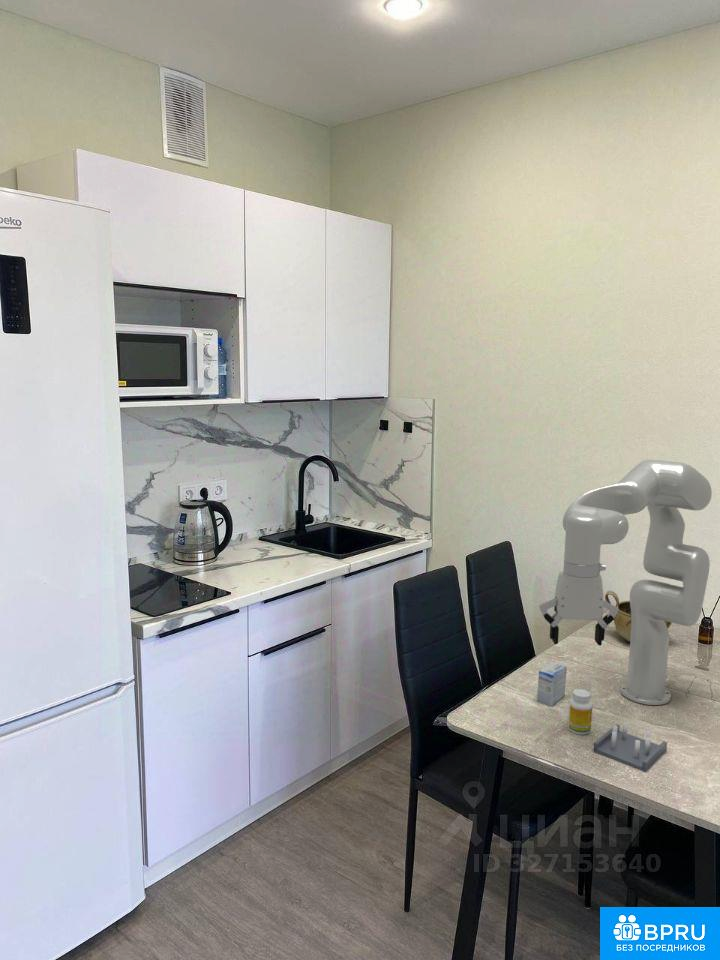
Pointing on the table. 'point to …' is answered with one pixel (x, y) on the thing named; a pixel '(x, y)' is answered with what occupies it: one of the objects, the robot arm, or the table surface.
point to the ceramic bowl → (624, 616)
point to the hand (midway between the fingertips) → (576, 642)
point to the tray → (629, 748)
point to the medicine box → (551, 683)
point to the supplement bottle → (580, 712)
